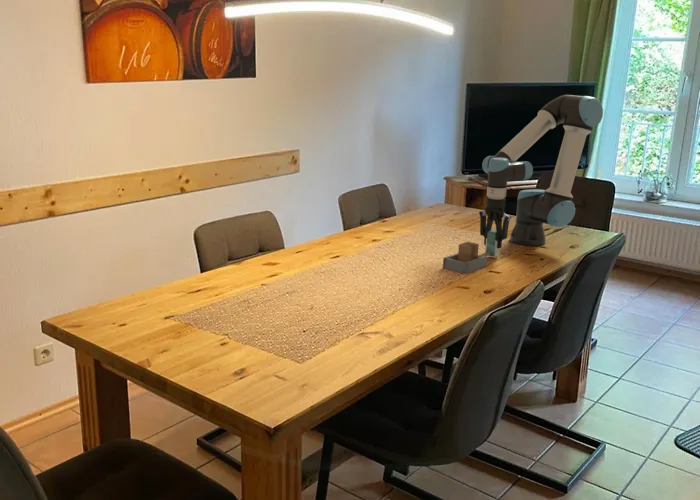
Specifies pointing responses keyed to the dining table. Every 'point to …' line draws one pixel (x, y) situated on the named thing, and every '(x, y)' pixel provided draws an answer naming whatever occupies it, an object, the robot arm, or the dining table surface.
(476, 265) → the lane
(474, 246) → the tethered block
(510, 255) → the dining table surface
